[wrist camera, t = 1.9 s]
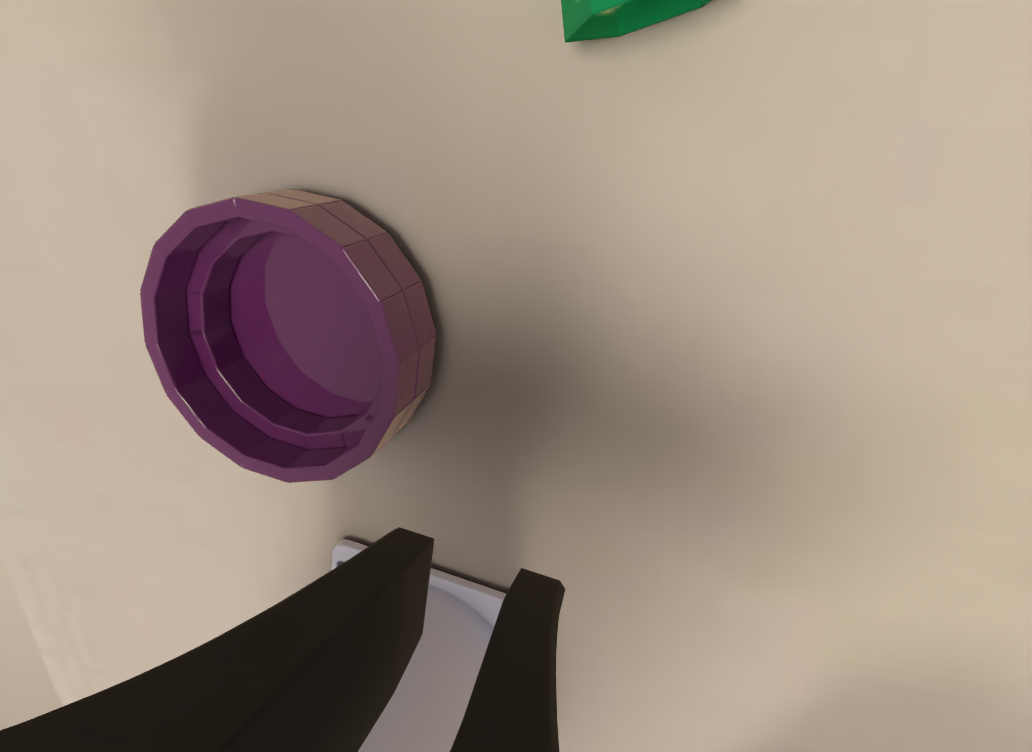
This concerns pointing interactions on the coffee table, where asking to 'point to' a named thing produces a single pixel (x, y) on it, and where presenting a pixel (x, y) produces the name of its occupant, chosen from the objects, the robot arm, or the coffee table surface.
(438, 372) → the coffee table surface
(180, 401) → the dish plum
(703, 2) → the candy
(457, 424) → the coffee table surface
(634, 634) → the coffee table surface
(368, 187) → the coffee table surface
